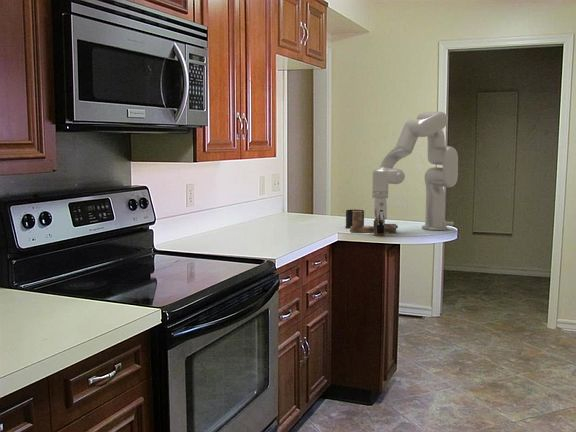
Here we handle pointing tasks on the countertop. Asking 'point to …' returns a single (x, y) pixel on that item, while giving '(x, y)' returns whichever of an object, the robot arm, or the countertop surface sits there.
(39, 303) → the countertop surface
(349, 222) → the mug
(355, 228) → the rail
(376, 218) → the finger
